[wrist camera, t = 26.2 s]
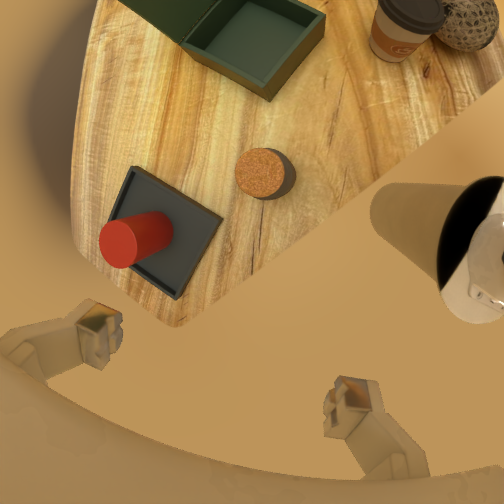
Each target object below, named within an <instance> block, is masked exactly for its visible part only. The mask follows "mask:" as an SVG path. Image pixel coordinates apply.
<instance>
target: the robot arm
mask: <svg viewBox="0 0 504 504" xmlns="http://www.w3.org/2000/svg"><path fill="white" fill-rule="evenodd" d="M468 270H469V275H470V282H469V288H468V295H469V296H470V297H471V298H473V299H475V300H477V301H479V302H481V303H483V304H485V305H487V306H489V307H491V308H492V309H494V310H496V311H498V312H500V313H502V314H504V214H493V215H491V216H489V217H487V218H486V219H485V220H484V221H483V222H482V223H481V224H480V225H479V226H478V228H477V229H476V231H475V233H474V235H473V237H472V240H471V243H470V246H469V251H468ZM478 293H479V294H478ZM477 294H478V295H477ZM122 321H123V320H122V313H121V312H119V311H117V310H114V309H111V308H110V307H107V306H105V305H103V304H101V303H98V302H96V301H93V300H91V299H85V300H84V301H83V302H82V303H81V304H79V305H78V306H77V307H76V308H75V309H74V310H73V311H72V312H70V313H69V314H68V315H67V316H66V317H65V318H64V319H62V318H57V319H52V320H48V321H44V322H40V323H35V324H31V325H27V326H22V327H18V328H14V329H10V330H9V331H8V332H7V333H6V334H4V335H3V336H2V337H1V338H0V504H504V469H503V468H502V467H500V466H498V465H493V466H487V467H483V468H479V469H474V470H470V471H464V472H459V473H454V474H447V475H440V476H433V477H430V473H429V468H428V463H427V459H426V455H425V452H424V450H422V449H421V447H420V446H419V445H418V444H417V443H416V442H415V441H414V440H413V439H412V438H411V437H410V436H409V435H408V434H407V432H406V431H405V430H404V429H403V428H402V427H401V426H400V425H399V424H398V423H397V422H396V421H395V420H394V419H393V418H392V416H391V415H390V414H388V413H385V409H384V405H383V401H382V397H381V392H380V388H379V384H378V382H377V381H373V380H366V379H358V378H352V377H346V376H339V377H338V378H337V379H336V381H335V382H334V384H335V388H333V389H331V390H329V392H328V394H327V395H326V398H325V401H324V406H323V413H324V415H325V416H326V417H327V419H326V420H325V422H324V437H330V438H336V439H344V440H345V442H346V444H347V445H348V447H349V449H350V450H351V452H352V453H353V455H354V457H355V458H356V460H357V461H358V463H359V464H360V466H361V468H362V469H363V471H364V473H365V474H366V476H364V477H363V478H362V479H361V480H336V479H321V478H310V477H302V476H293V475H286V474H280V473H273V472H267V471H262V470H256V469H252V468H247V467H242V466H238V465H233V464H229V463H225V462H221V461H217V460H213V459H210V458H206V457H203V456H200V455H196V454H193V453H190V452H187V451H184V450H181V449H178V448H175V447H172V446H169V445H166V444H163V443H160V442H158V441H155V440H153V439H150V438H148V437H145V436H143V435H140V434H138V433H135V432H133V431H131V430H129V429H126V428H124V427H122V426H120V425H117V424H115V423H113V422H111V421H109V420H107V419H105V418H103V417H101V416H99V415H97V414H95V413H93V412H91V411H89V410H87V409H85V408H83V407H82V406H80V405H78V404H76V403H74V402H73V401H71V400H69V399H67V398H66V397H64V396H62V395H61V394H59V393H57V392H56V391H54V390H52V389H51V388H49V387H48V384H47V381H46V380H47V379H49V378H51V377H54V376H56V375H58V374H61V373H62V372H65V371H67V370H69V369H72V368H74V367H76V366H79V365H81V364H83V362H84V363H86V364H88V365H90V366H92V367H94V368H97V369H99V370H103V368H104V367H105V366H106V364H107V363H108V362H109V361H110V354H113V353H116V351H117V350H118V349H119V347H120V345H121V342H122V338H123V330H122V328H121V327H120V324H121V322H122Z"/></svg>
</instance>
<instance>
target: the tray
mask: <svg viewBox="0 0 504 504" xmlns="http://www.w3.org/2000/svg"><path fill="white" fill-rule="evenodd" d="M151 211H159V212H162V213H163V214H165V215H166V216H167V217H168V218H169V220H170V221H171V223H172V226H173V238H172V241H171V242H170V244H169V245H168V246H167V247H166V248H164V249H162V250H160V251H158V252H156V253H154V254H152V255H150V256H148V257H146V258H144V259H142V260H140V261H139V262H137V263H135V264H133V265H131V266H129V268H131V269H132V270H133V271H135V272H136V273H137V274H139V275H140V276H141V277H143V278H144V279H146V280H147V281H148V282H150V283H151V284H153V285H154V286H155V287H157V288H158V289H160V290H161V291H163V292H164V293H165V294H167V295H168V296H170V297H171V298H173V299H174V300H177V299H178V298H179V297H181V295H182V293H183V291H184V289H185V288H186V286H187V284H188V282H189V280H190V278H191V276H192V275H193V273H194V271H195V269H196V267H197V265H198V264H199V262H200V260H201V258H202V256H203V254H204V253H205V251H206V249H207V247H208V245H209V244H210V242H211V240H212V238H213V236H214V235H215V233H216V231H217V229H218V227H219V226H220V224H221V222H222V220H223V218H221V217H220V216H218V215H217V214H215V213H213V212H212V211H210V210H208V209H207V208H205V207H204V206H202V205H200V204H199V203H197V202H196V201H194V200H192V199H191V198H189V197H187V196H186V195H184V194H183V193H181V192H179V191H178V190H176V189H174V188H173V187H171V186H170V185H168V184H166V183H165V182H163V181H161V180H160V179H158V178H156V177H155V176H153V175H152V174H150V173H148V172H147V171H145V170H143V169H142V168H140V167H138V166H130V169H129V171H128V173H127V175H126V178H125V180H124V182H123V184H122V187H121V189H120V191H119V194H118V196H117V199H116V201H115V204H114V206H113V209H112V211H111V214H110V216H109V219H108V222H110V221H113V220H117V219H121V218H125V217H130V216H134V215H138V214H142V213H147V212H151ZM108 222H107V223H108Z"/></svg>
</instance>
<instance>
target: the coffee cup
mask: <svg viewBox="0 0 504 504" xmlns="http://www.w3.org/2000/svg"><path fill="white" fill-rule="evenodd" d="M378 1H379V2H378V6H377V10H376V11H375V16H374V20H373V24H372V29H371V34H370V38H369V42H370V46H371V48H372V50H373V51H374V53H375V54H376V55H377V56H378V57H380V58H381V59H383V60H385V61H388V62H400V61H403V60H404V59H405V58H406V57H407V56H409V55H410V54H411V53H413V52H414V51H415V50H416V49H417V48H418V47H419V46H420V45H421V44H422V43H424V42H425V41H426V39H427V38H428V37H429V36H430V35H431V34H434V33H436V32H437V31H438V30H439V29H440V27H441V26H442V24H443V22H444V7H443V4H442V2H441V0H378Z"/></svg>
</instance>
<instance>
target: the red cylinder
mask: <svg viewBox="0 0 504 504" xmlns="http://www.w3.org/2000/svg"><path fill="white" fill-rule="evenodd" d="M172 238H173V226H172V223H171V221H170V220H169V218H168V217H167V216H166V215H165V214H163V213H162V212H159V211H151V212H147V213H142V214H138V215H134V216H130V217H125V218H121V219H117V220H113V221H110V222H108V223H107V224H106V225H105V226H104V227H103V228H102V230H101V232H100V236H99V246H100V250H101V253H102V255H103V257H104V259H105V260H106V261H107V262H108V263H109V264H110V265H111V266H113V267H115V268H119V269H123V268H127V267H129V266H131V265H133V264H135V263H137V262H139V261H140V260H142V259H144V258H146V257H148V256H150V255H152V254H154V253H156V252H158V251H160V250H162V249H164V248H166V247H167V246H168V245H169V244H170V242H171V241H172Z"/></svg>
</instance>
